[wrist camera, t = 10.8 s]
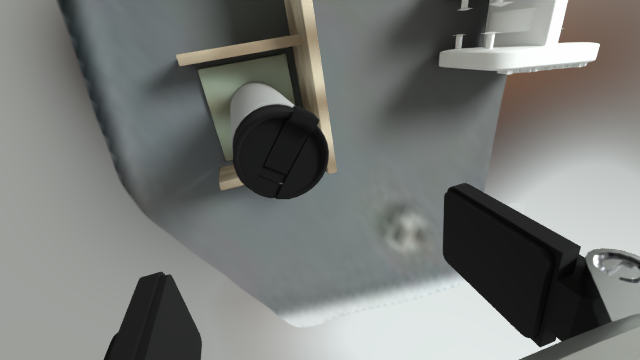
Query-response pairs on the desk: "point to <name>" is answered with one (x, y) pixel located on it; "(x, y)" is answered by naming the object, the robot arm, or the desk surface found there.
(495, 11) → the cable organizer
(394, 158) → the desk surface
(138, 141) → the desk surface
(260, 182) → the travel mug
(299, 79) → the desk dock
